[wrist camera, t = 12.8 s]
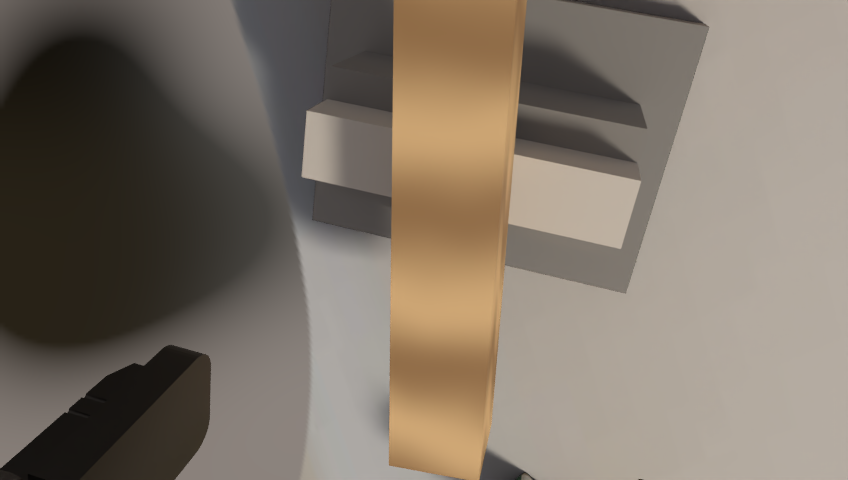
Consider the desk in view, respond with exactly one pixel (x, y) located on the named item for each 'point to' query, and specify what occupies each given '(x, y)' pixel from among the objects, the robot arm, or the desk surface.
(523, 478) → the crayon box
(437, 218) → the oak bar
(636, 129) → the balance stand
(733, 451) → the desk surface
